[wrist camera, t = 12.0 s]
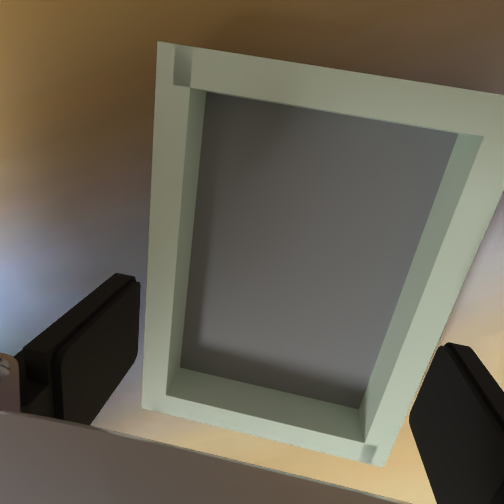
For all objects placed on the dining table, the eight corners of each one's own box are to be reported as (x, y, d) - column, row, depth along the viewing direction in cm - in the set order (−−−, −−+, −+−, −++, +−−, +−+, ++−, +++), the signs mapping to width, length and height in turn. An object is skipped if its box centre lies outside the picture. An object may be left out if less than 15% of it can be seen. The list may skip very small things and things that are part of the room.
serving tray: (371, 413, 19) (383, 467, 16) (165, 365, 20) (141, 407, 17) (490, 104, 13) (542, 100, 10) (188, 56, 14) (157, 41, 11)
